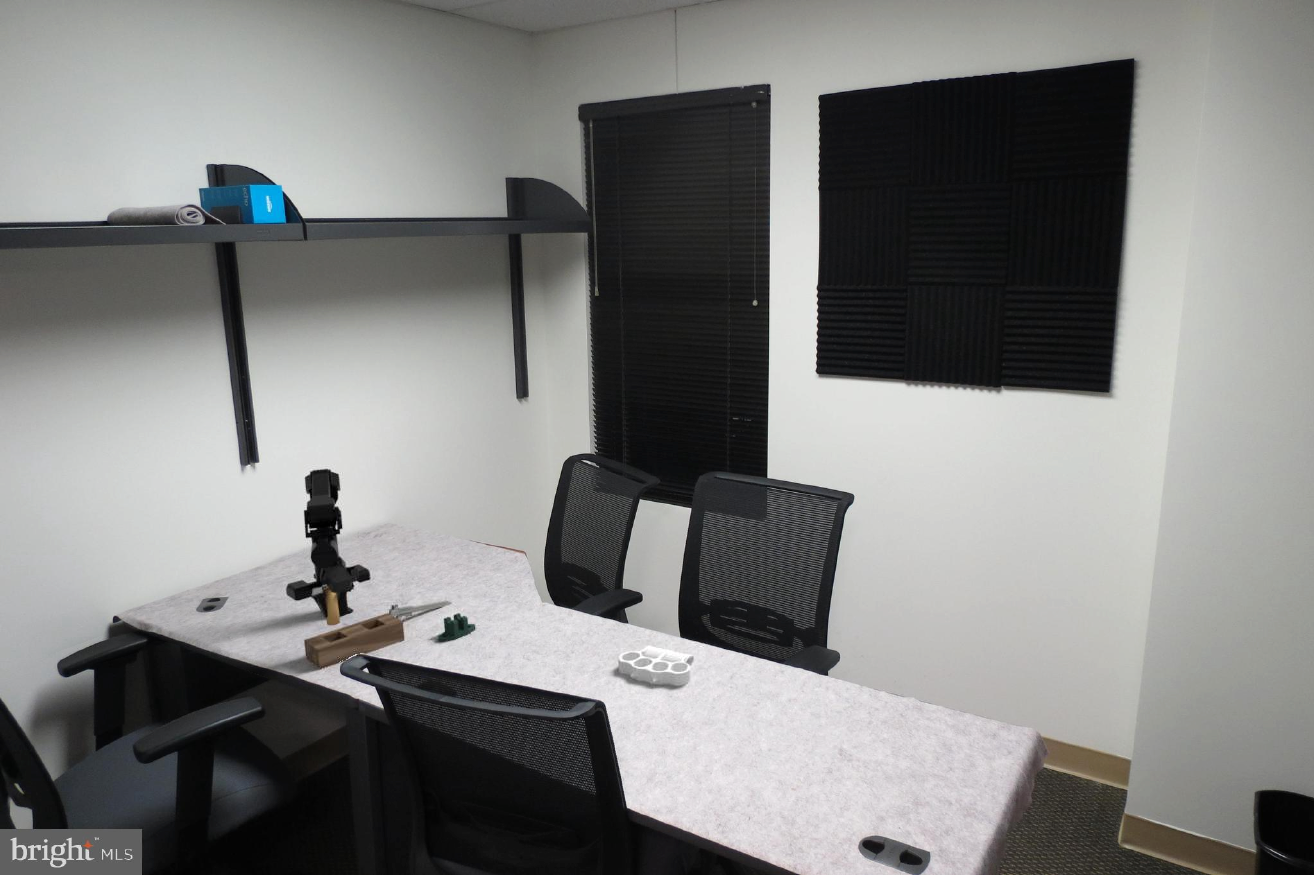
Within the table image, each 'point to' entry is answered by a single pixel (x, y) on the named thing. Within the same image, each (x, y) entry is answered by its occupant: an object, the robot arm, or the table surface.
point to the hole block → (353, 640)
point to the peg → (331, 607)
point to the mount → (455, 628)
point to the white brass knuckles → (657, 666)
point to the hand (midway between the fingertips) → (332, 615)
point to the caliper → (414, 608)
